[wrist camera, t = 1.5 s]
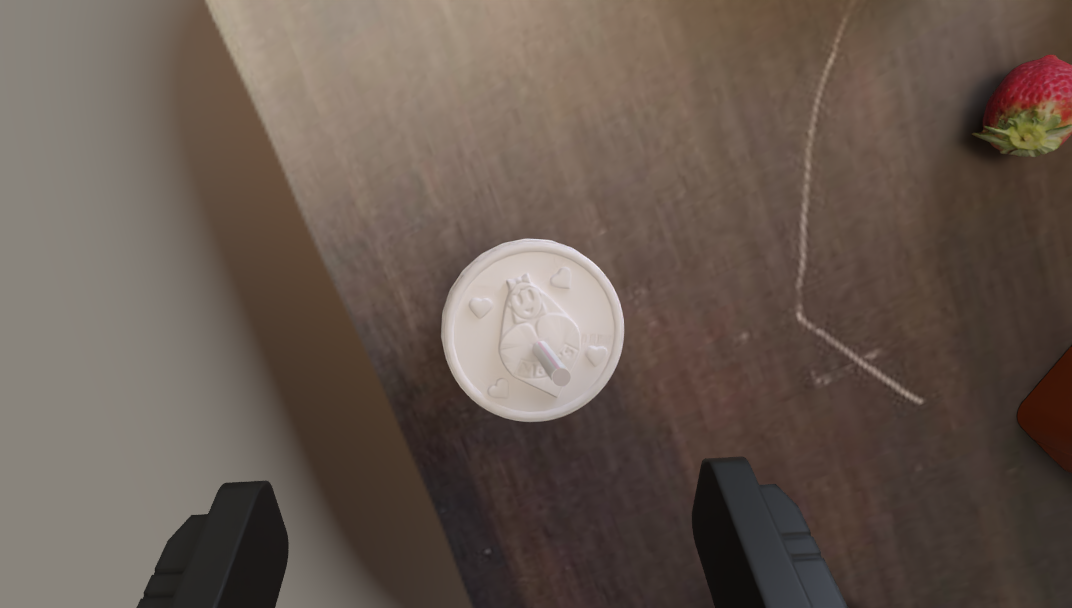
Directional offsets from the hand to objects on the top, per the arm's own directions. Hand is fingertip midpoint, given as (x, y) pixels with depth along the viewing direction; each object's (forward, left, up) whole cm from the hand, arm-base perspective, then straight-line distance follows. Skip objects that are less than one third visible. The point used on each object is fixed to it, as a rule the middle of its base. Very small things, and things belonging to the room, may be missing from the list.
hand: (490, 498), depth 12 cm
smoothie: (+2, +2, -20) cm, 20 cm away
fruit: (+27, +13, -20) cm, 36 cm away
